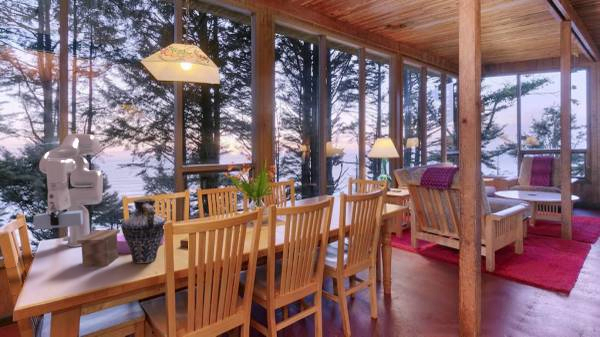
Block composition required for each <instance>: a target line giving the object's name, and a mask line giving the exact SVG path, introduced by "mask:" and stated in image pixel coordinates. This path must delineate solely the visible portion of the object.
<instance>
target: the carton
mask: <svg viewBox="0 0 600 337" xmlns="http://www.w3.org/2000/svg"><path fill="white" fill-rule="evenodd" d="M188 237H189V236H187V237H185V238H183V239H181V240H180V242H179V243H180V248H188ZM188 249H189V248H188Z"/></svg>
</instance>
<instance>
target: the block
mask: <svg viewBox="0 0 600 337" xmlns="http://www.w3.org/2000/svg"><path fill="white" fill-rule="evenodd" d="M53 213H54V214H55V212H53ZM57 217H58V221H59V225H57V226H51V222H50V217H49V215H48V213H47V212H45V213H43V212H42V213H41V212H40V213H36V214H35V215H33V217H32V218H33V219H32V221H33V230H46V229H54V228H69V226H79V225H82V223H83V211H82V210H79V211H66V212H62V211H58V215H57Z"/></svg>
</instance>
